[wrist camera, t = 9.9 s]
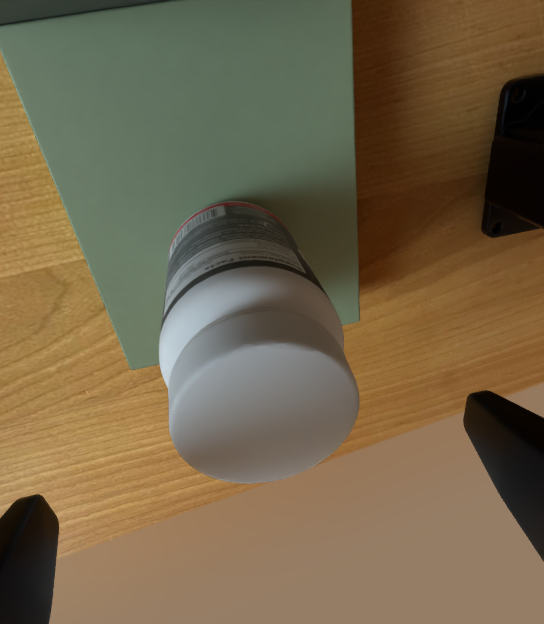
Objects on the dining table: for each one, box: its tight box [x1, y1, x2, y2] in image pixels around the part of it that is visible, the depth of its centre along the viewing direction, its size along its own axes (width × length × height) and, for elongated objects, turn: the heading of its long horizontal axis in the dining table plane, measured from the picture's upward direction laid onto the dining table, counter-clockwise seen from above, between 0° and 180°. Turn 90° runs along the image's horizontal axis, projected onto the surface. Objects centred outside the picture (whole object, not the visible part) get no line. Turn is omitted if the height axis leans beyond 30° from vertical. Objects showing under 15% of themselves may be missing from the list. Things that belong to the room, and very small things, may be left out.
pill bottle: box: [159, 201, 359, 483], centre depth 12 cm, size 5×5×8 cm
